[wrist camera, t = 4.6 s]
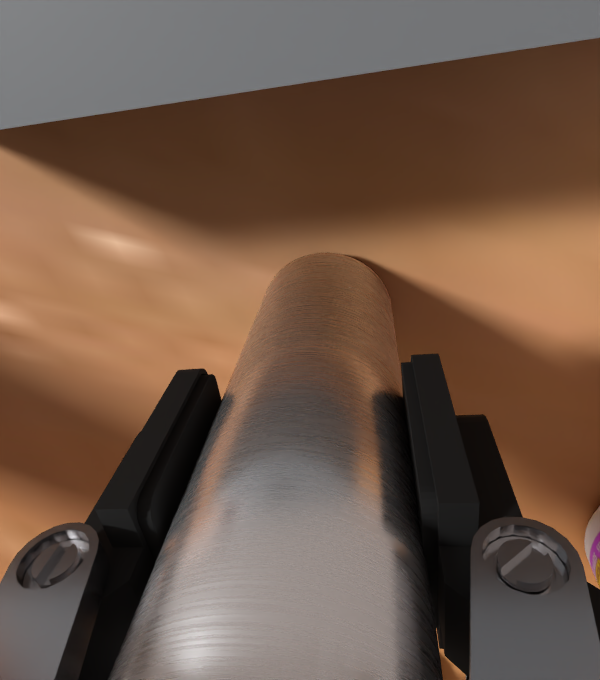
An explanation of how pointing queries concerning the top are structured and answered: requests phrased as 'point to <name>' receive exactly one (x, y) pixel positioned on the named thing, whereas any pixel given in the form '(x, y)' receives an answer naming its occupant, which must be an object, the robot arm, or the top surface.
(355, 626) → the steel pin
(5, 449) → the top surface
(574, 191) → the top surface
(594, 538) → the supplement bottle
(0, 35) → the socket block
